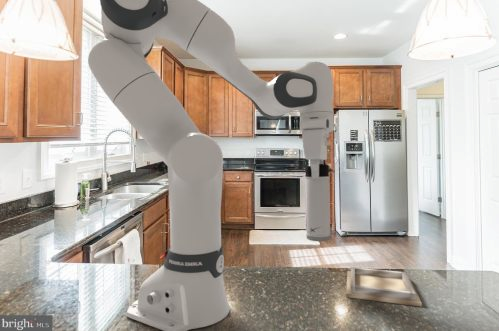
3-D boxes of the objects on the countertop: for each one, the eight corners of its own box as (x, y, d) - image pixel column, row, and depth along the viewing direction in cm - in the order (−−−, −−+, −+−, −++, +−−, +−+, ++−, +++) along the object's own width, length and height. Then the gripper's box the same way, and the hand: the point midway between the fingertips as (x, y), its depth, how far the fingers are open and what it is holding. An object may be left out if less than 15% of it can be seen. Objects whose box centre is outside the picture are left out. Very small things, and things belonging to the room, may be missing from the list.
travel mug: (314, 242, 75) (312, 164, 75) (302, 236, 81) (300, 164, 81) (335, 240, 77) (334, 163, 77) (322, 234, 83) (321, 163, 83)
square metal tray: (346, 297, 71) (346, 287, 71) (347, 273, 86) (347, 265, 86) (421, 306, 66) (421, 296, 66) (409, 279, 81) (408, 271, 81)
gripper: (310, 130, 90) (310, 175, 90) (298, 121, 71) (298, 179, 71) (331, 129, 88) (332, 175, 88) (325, 119, 68) (326, 179, 69)
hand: (317, 177), depth 79 cm, fingers closed on travel mug, 6 cm apart
